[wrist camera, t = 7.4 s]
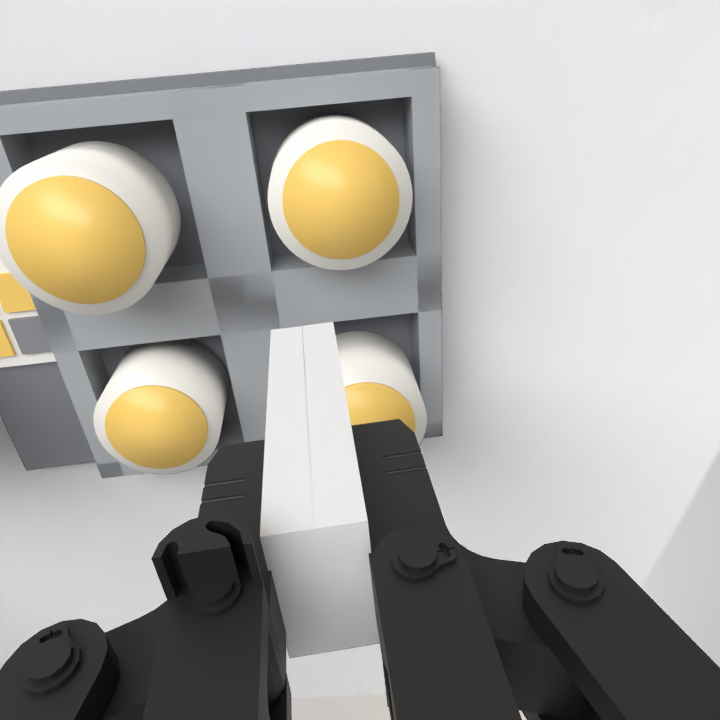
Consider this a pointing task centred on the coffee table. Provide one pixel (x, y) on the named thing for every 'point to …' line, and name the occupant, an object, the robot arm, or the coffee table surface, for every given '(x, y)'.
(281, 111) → the board
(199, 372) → the button
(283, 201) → the button
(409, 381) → the button
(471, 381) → the coffee table surface
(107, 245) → the button
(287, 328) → the robot arm
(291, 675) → the coffee table surface
